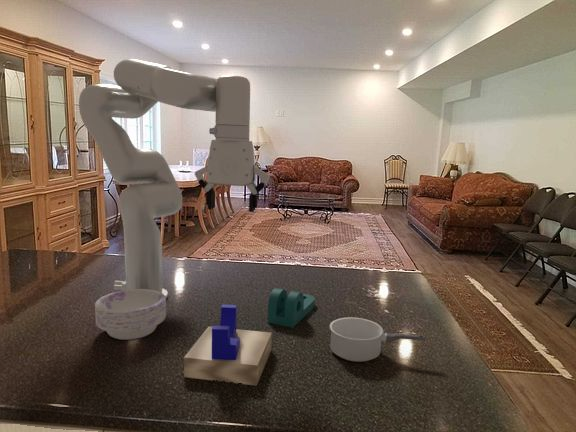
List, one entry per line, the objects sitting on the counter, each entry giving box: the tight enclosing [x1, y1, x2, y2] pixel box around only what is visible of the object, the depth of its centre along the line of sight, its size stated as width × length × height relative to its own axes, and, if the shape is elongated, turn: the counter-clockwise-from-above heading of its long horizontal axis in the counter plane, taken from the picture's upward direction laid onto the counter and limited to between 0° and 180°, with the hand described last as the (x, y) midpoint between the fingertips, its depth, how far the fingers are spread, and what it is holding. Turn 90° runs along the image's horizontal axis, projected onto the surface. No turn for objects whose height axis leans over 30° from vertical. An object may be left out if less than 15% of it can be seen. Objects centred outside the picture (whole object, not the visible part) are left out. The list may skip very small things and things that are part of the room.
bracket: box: [267, 287, 316, 329], centre depth 115 cm, size 18×7×8 cm, turn 156°
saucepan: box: [329, 316, 427, 363], centre depth 93 cm, size 12×20×6 cm, turn 77°
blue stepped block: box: [211, 304, 240, 360], centre depth 87 cm, size 12×4×6 cm, turn 179°
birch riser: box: [183, 325, 273, 386], centre depth 88 cm, size 14×14×4 cm
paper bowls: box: [94, 289, 167, 341], centre depth 100 cm, size 15×15×8 cm
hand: (231, 209), depth 101 cm, fingers open, 9 cm apart
